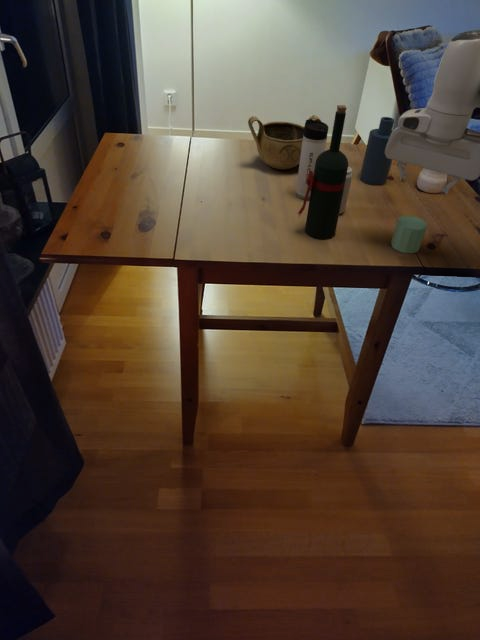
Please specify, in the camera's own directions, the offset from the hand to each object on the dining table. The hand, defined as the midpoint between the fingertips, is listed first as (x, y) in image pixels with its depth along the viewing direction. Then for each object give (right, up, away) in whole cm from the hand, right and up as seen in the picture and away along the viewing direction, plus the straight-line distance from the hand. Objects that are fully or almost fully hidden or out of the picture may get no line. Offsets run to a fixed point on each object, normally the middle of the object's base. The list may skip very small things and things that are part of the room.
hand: (423, 187), depth 103 cm
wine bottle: (-22, -7, +14) cm, 27 cm away
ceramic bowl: (-28, +20, +44) cm, 56 cm away
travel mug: (-22, +6, +29) cm, 37 cm away
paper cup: (0, -12, +10) cm, 15 cm away
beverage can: (-16, 0, +23) cm, 27 cm away
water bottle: (0, +13, +39) cm, 41 cm away
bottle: (+16, +10, +36) cm, 40 cm away
